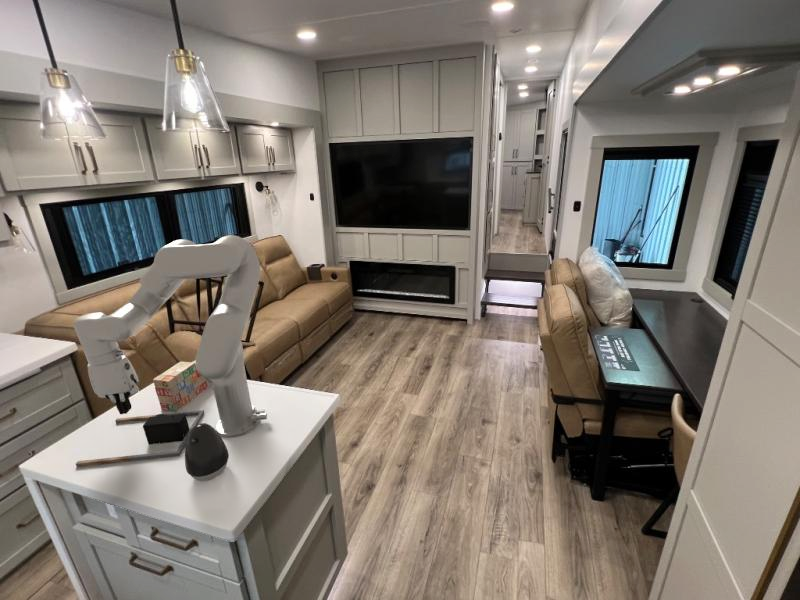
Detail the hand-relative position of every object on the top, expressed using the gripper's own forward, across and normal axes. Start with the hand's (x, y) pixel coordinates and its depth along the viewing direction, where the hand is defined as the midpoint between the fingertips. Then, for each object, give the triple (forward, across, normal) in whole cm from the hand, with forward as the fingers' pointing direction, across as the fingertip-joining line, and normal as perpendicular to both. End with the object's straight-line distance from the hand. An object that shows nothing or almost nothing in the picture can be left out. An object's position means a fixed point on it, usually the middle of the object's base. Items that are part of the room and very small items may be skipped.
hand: (126, 411), depth 112 cm
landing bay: (+10, -9, 0) cm, 14 cm away
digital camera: (+11, -10, +1) cm, 15 cm away
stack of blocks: (+11, -7, -23) cm, 27 cm away
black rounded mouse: (+12, -27, +18) cm, 35 cm away
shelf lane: (+10, +4, 0) cm, 10 cm away
